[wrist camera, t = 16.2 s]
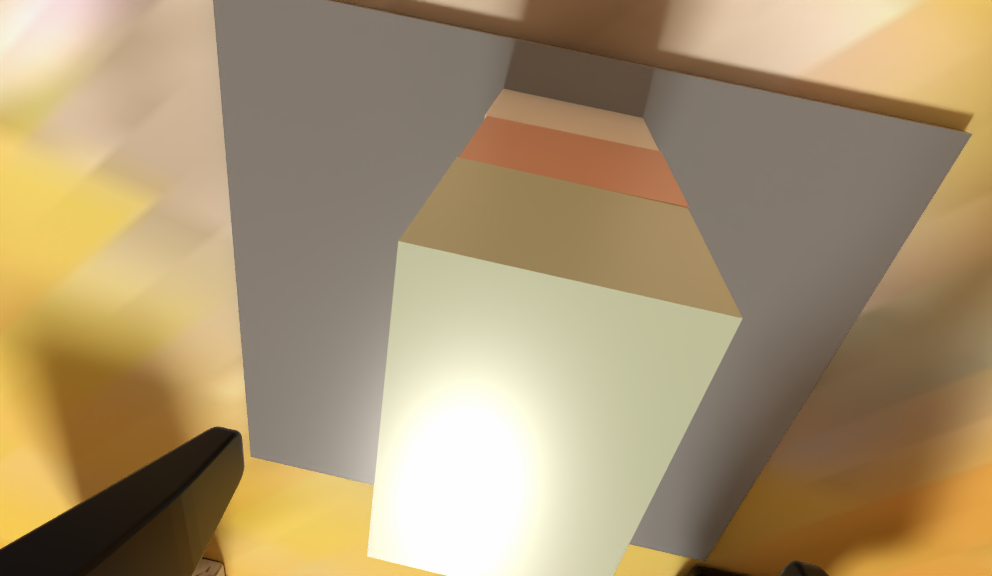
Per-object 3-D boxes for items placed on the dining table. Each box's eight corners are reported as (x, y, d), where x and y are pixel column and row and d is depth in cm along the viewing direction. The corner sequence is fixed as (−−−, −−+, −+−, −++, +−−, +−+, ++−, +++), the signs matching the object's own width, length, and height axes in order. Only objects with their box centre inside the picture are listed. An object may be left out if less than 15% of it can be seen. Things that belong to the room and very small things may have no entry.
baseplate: (963, 130, 17) (1077, 174, 13) (703, 554, 28) (723, 644, 24) (218, -24, 17) (117, -26, 13) (254, 451, 28) (205, 523, 25)
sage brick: (457, 156, 11) (398, 240, 7) (687, 207, 10) (742, 318, 7) (418, 416, 14) (366, 556, 11) (590, 455, 14) (595, 611, 10)
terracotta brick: (487, 115, 14) (457, 158, 11) (661, 151, 14) (689, 206, 10) (452, 332, 18) (422, 417, 14) (591, 362, 17) (595, 456, 14)
